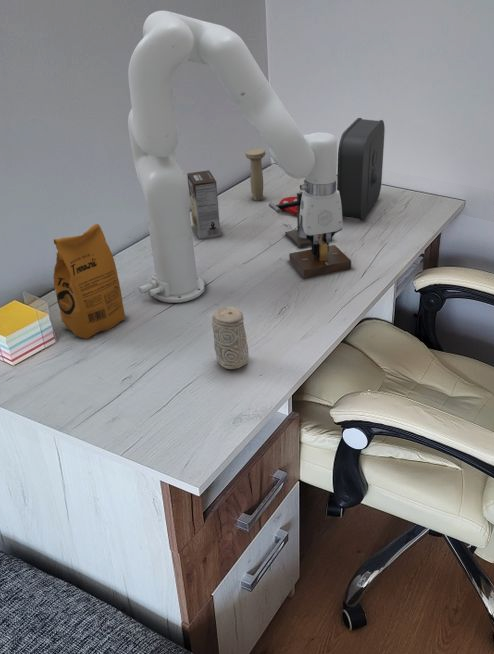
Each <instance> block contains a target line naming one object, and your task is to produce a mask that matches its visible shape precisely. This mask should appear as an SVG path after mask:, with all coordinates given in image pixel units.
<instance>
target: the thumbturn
mask: <svg viewBox="0 0 494 654" xmlns="http://www.w3.org/2000/svg"><path fill="white" fill-rule="evenodd" d="M318 244H319V260H320V261H321V262H322V261H327V258H328V244H327V243H326V242H325V241H324V240H322V238H321V237H320V236H319V235H318Z"/></svg>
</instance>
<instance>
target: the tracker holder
mask: <svg viewBox="0 0 494 654" xmlns="http://www.w3.org/2000/svg"><path fill="white" fill-rule="evenodd" d="M300 192H302V190H299V191H298V193H300ZM293 201H297V196H288V197H284V198H282V199H281V200H279V203H278V204H283V203H288V202H293ZM284 211H287V212H289V213H290V214H293V215H295V216H297V206H294V207H289V208H284V209H281V212H284Z"/></svg>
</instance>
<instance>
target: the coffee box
mask: <svg viewBox="0 0 494 654" xmlns="http://www.w3.org/2000/svg"><path fill="white" fill-rule="evenodd" d="M186 175H187V181H188V185H189V195H190V213H191V220H192V221H191V222H192V226H193V229H194V231H195V233H196V235H197V237H198V238H199V240H202V239H208V238H215V237H221V224H220V223H221V222H220V212H219V197H218V186H217V185H218V184H217V180H216V178H215V177H214V176H213V174H212V172H211V171H210V170H209V169H208V170H201V171H194V172H188V173H186Z"/></svg>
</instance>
